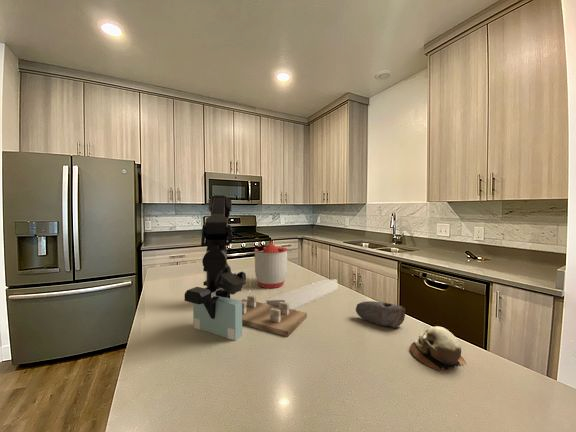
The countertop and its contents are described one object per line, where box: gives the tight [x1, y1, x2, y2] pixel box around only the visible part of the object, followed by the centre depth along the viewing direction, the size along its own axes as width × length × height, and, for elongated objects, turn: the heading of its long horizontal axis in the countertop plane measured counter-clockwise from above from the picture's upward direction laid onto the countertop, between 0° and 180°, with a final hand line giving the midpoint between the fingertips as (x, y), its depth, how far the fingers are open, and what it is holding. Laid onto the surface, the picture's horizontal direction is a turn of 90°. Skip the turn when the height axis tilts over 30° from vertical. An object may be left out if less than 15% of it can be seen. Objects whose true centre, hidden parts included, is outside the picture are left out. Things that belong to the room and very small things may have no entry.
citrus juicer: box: [253, 242, 288, 289], centre depth 116 cm, size 16×17×20 cm
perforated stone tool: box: [355, 300, 406, 329], centre depth 78 cm, size 15×5×7 cm, turn 54°
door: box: [192, 295, 243, 341], centre depth 72 cm, size 16×3×10 cm, turn 63°
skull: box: [409, 325, 468, 374], centre depth 61 cm, size 12×10×10 cm
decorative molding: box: [265, 278, 340, 310], centre depth 101 cm, size 34×5×10 cm
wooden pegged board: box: [240, 294, 308, 338], centre depth 82 cm, size 26×14×5 cm, turn 63°
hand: (216, 316), depth 72 cm, fingers closed on door, 3 cm apart
